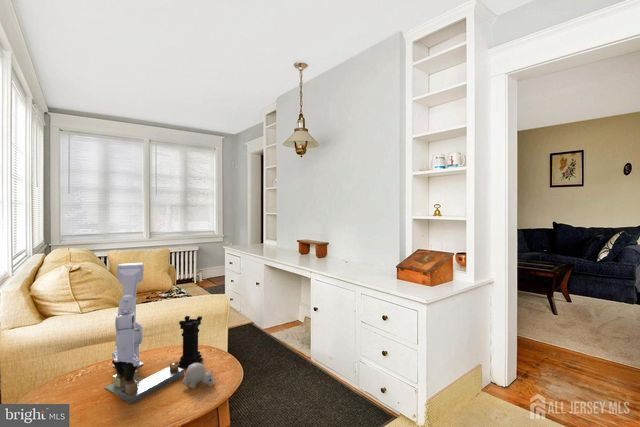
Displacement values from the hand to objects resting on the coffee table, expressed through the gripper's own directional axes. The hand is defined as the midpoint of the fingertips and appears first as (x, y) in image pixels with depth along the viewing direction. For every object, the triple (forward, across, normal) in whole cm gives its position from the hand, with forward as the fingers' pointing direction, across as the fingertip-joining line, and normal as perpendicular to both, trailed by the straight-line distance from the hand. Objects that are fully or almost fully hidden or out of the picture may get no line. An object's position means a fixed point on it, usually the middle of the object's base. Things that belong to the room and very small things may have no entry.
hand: (125, 378), depth 128 cm
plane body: (+2, +10, +5) cm, 11 cm away
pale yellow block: (+1, 0, 0) cm, 1 cm away
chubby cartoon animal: (+3, +24, +14) cm, 28 cm away
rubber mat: (+2, 0, 0) cm, 2 cm away
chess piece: (+3, +8, +24) cm, 25 cm away
